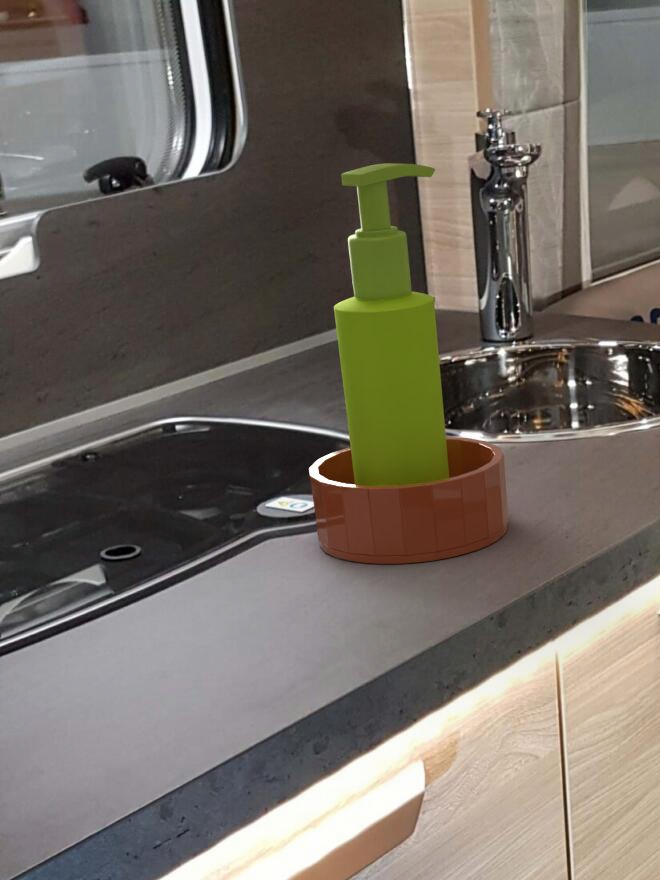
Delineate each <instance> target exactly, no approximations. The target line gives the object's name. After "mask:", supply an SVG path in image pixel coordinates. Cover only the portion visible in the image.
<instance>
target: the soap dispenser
mask: <svg viewBox="0 0 660 880" xmlns="http://www.w3.org/2000/svg"><path fill="white" fill-rule="evenodd" d="M435 171H436V168H434V167H431V166H428V165H422V164H414V163H392V162H391V163H378V164H377V163H376V164H371V165H366V166H362V167H360V168H356V169H352V170H350V171H349V170H348V171H346V172H343V173H340V177H341V185H342V186H347V187H356V192H357V200H358V210H359V211H358V212H359V220H360V228H357V229H356V230H355V232H354V234H351V235H349V236H348V238H347V243H348V244H347V245H348V253H349V263H350V271H351V272H350V273H351V280H352V281H351V282H352V289H353V296H352V297H349V298H347V299H344V300H342V301H340V302H338V303H336V304H335V305H333V311H334V320H335V329H336V336H337V345H338V354H339V361H340V362H339V363H340V371H341V379H342V386H343V387H342V388H343V395H344V403H345V404H344V405H345V412H346V419H347V420H346V421H347V428H348V436H349V445H350V447H351V455H352V463H353V471H354V480H355V485H364V486H389V485H406V484H415V483H424V482H432V481H437V480H442V479H447V478H449V468H448V456H447V445H446V437H447V435H446V424H445V423H446V421H445V412H444V401H443V400H444V399H443V388H442V377H441V366H440V365H441V364H440V354H439V353H440V352H439V342H438V329H437V319H436V317H437V316H436V307H435V297H434V296H433V295H431V294H427V293H422V292H419V291H413V290H412V280H411V279H412V278H411V268H410V258H409V247H408V236H407V233H406V232H405V231H403V230H399V228H398V227H397V226H395V225H392V223H391V215H390V204H389V193H388V192H389V191H388V183H387V182H388V181H390V180H394V179H398V178H403V177H413V178H414V177H415V178H432V176H433V175H434V173H435Z"/></svg>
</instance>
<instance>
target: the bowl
mask: <svg viewBox="0 0 660 880" xmlns="http://www.w3.org/2000/svg"><path fill="white" fill-rule="evenodd" d="M446 445H447V456H448V468H449V478H447V479H442V480H437V481H432V482H424V483H415V484H406V485H389V486H364V485H355V480H354V471H353V463H352V455H351V446H350V447H346V448H343V449H339V450H336V451H333V452H331V453H329V454H326V455H324V456H322V457H320V458H318V459H317V460H316V461H314V462H313V463H312V465H310V466H309V468H308V473H309V479H310V487H311V494H312V502H313V510H314V516H315V524H316V532H317V537H318V538H317V539H318V545H319V547H320V549H321V550H322V551H323V552H324V553H326V554H328V555H330V556H331V557H334V558H336V559H340V560H344V561H349V562H354V563H363V564H374V565H375V564H376V565H401V564H403V565H404V564H417V563H424V562H432V561H433V562H434V561H439V560H445V559H450V558H454V557H459V556H462V555H465V554H469V553H472V552H476V551H478V550H481V549H483V548H486V547H488V546H490V545H492V544H494V543H495V542H497V541H499V540H501V538H502V537H504V536H505V534H506V533H507V530H508V527H509V526H508V520H509V512H508V509H509V508H508V495H507V481H506V466H505V465H506V464H505V455H504V453H503V451H502V448H500V446H497V445H495V444H493V443H491V442H489V441H487V440H482V439H481V440H480V439H475V438H469V437H463V436H462V437H460V436H446Z"/></svg>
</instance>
